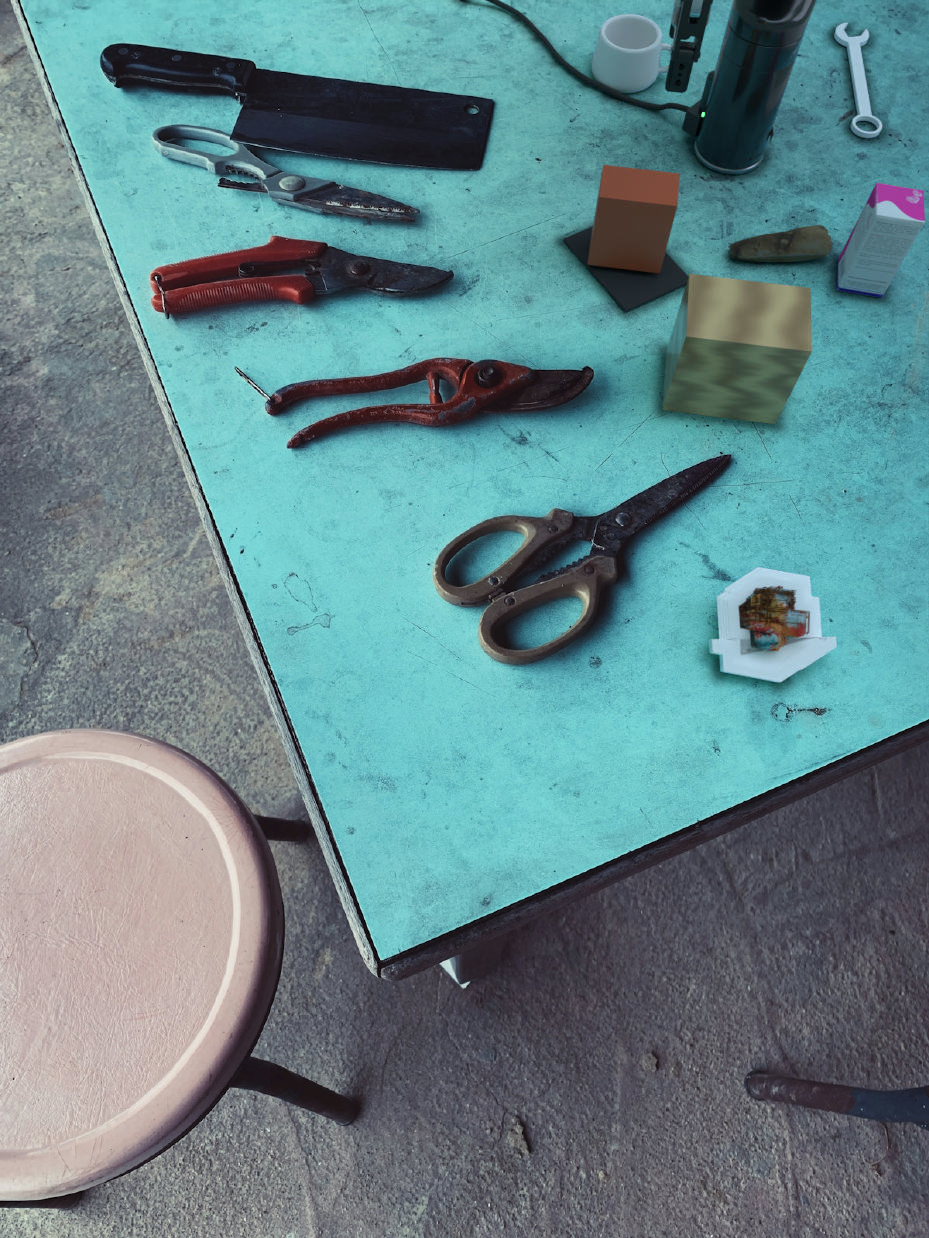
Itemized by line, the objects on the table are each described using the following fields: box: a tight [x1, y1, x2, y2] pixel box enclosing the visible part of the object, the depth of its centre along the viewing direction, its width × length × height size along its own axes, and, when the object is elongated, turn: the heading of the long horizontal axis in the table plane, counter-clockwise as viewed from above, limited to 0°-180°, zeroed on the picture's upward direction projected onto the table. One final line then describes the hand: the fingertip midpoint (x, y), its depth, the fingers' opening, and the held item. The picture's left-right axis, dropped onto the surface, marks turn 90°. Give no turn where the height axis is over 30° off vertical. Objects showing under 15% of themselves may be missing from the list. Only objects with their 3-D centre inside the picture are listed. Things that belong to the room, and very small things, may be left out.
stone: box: [728, 224, 834, 263], centre depth 117 cm, size 13×5×2 cm, turn 100°
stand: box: [661, 273, 813, 425], centre depth 103 cm, size 13×9×12 cm
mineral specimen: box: [708, 566, 838, 683], centre depth 91 cm, size 12×12×7 cm
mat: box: [562, 225, 689, 314], centre depth 117 cm, size 14×10×1 cm
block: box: [588, 164, 680, 273], centre depth 112 cm, size 11×6×9 cm
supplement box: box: [836, 182, 926, 299], centre depth 111 cm, size 6×6×12 cm
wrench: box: [833, 22, 883, 139], centre depth 133 cm, size 25×1×5 cm
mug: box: [591, 13, 671, 94], centre depth 131 cm, size 12×10×6 cm
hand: (677, 63), depth 94 cm, fingers open, 8 cm apart
